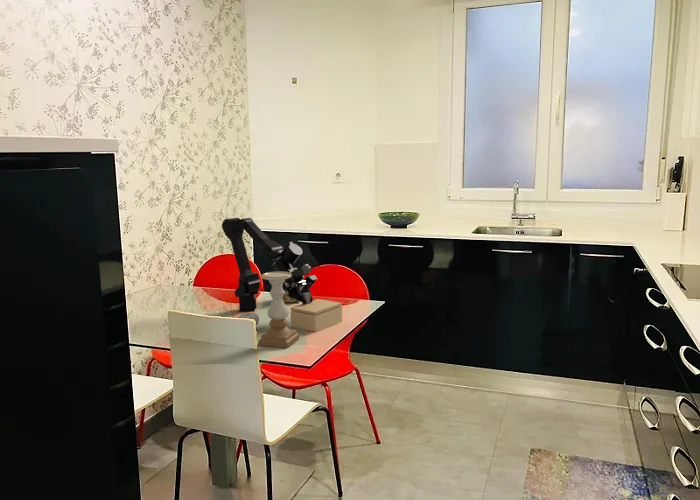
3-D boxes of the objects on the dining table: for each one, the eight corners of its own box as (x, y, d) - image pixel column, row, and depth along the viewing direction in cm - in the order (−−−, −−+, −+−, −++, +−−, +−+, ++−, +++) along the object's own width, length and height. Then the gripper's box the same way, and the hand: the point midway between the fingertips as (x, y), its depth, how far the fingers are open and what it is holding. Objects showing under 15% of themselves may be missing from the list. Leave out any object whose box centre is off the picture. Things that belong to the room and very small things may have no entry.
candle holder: (271, 336, 203) (268, 270, 199) (299, 338, 200) (297, 271, 196) (257, 345, 192) (254, 276, 189) (287, 348, 189) (285, 278, 186)
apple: (239, 327, 214) (238, 310, 213) (260, 327, 214) (259, 310, 213) (236, 334, 206) (236, 316, 205) (258, 333, 206) (258, 315, 205)
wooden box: (291, 326, 214) (290, 310, 213) (318, 316, 227) (317, 302, 226) (315, 331, 207) (315, 315, 206) (342, 321, 220) (341, 306, 219)
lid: (290, 310, 213) (290, 297, 212) (317, 301, 226) (317, 289, 225) (315, 314, 206) (314, 301, 205) (341, 305, 219) (341, 292, 218)
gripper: (280, 261, 211) (304, 294, 206) (313, 254, 226) (335, 285, 221) (266, 280, 217) (288, 312, 212) (298, 272, 232) (320, 302, 227)
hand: (309, 302), depth 218 cm, fingers closed on lid, 3 cm apart
